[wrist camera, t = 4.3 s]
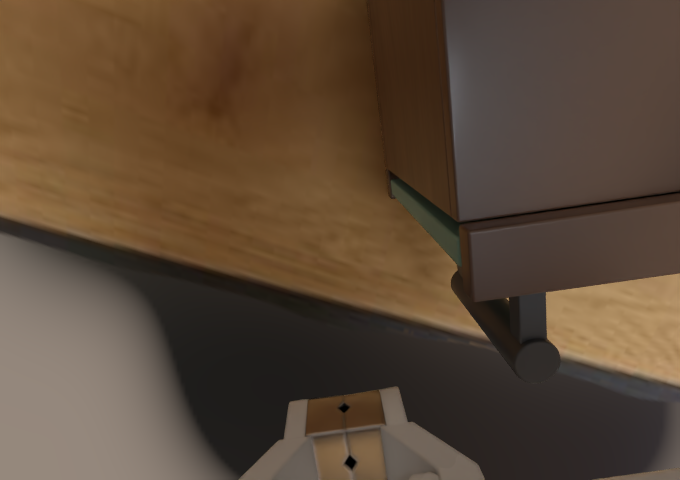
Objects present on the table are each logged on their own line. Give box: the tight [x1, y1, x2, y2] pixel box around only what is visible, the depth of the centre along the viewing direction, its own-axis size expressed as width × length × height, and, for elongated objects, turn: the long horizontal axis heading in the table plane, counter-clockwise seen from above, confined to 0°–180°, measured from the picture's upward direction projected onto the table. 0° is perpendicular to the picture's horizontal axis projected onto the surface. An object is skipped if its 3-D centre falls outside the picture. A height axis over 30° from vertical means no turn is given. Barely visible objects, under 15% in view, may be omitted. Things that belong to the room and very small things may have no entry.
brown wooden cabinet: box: [367, 0, 680, 302], centre depth 16 cm, size 18×12×15 cm, turn 98°
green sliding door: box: [391, 179, 680, 383], centre depth 18 cm, size 10×5×12 cm, turn 98°
